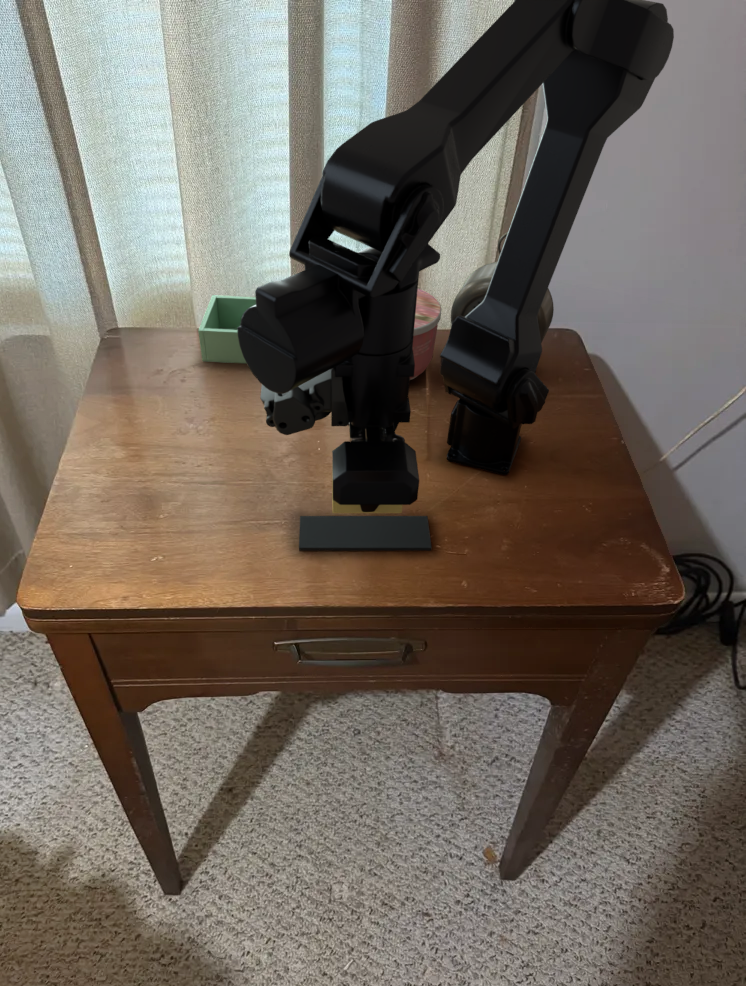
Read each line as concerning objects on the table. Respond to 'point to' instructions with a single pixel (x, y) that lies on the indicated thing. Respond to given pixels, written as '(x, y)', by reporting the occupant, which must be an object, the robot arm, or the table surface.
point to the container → (425, 330)
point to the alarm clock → (477, 290)
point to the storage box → (223, 328)
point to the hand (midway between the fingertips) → (367, 493)
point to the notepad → (357, 509)
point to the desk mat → (364, 533)
